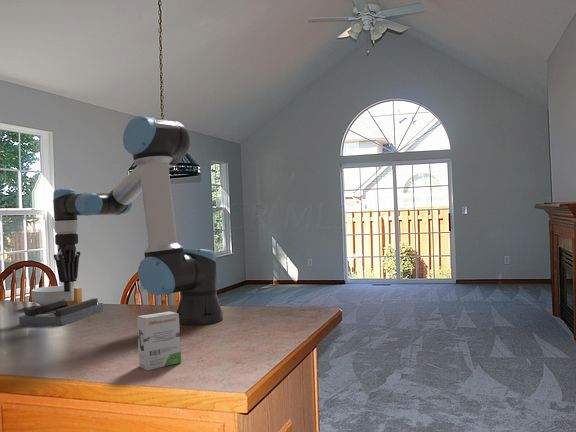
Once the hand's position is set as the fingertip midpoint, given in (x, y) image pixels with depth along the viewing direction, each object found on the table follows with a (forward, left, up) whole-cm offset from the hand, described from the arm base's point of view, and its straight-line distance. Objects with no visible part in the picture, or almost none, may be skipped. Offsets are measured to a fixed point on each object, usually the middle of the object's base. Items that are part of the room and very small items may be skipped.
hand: (69, 300), depth 193 cm
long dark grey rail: (-5, +3, -2) cm, 7 cm away
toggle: (0, -4, -2) cm, 4 cm away
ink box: (-58, +56, -6) cm, 81 cm away
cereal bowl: (+18, -20, -6) cm, 27 cm away
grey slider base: (0, +3, -5) cm, 6 cm away
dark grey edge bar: (+6, +3, -2) cm, 7 cm away
